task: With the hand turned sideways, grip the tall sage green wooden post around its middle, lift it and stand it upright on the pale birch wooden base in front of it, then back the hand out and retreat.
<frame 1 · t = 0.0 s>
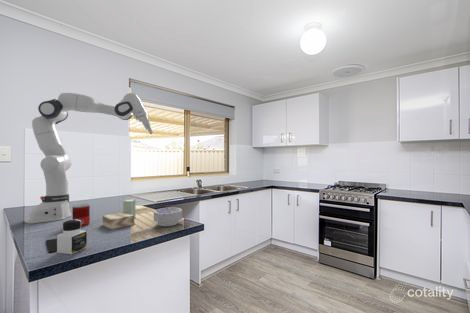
hand: (151, 133, 166), 54 cm above the countertop, tool tilted 30°, fingers open, 8 cm apart
sage green post: (129, 218, 145), on the countertop
paper bowls: (168, 224, 132), on the countertop
wooden base: (118, 224, 131), on the countertop
canned food: (81, 225, 131), on the countertop
cell phone: (60, 245, 102), on the countertop
medicine bottle: (72, 250, 95), on the countertop
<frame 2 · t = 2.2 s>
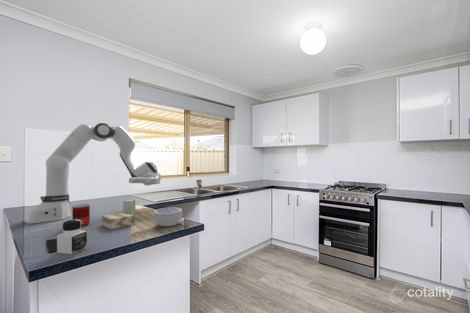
hand: (139, 181, 157), 21 cm above the countertop, tool horizontal, fingers open, 8 cm apart
nothing on the countertop moved.
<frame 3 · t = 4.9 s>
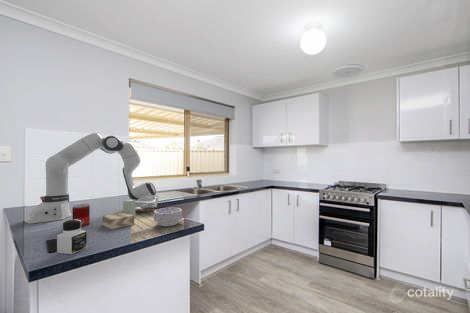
hand: (135, 206, 152), 6 cm above the countertop, tool horizontal, fingers open, 8 cm apart
nothing on the countertop moved.
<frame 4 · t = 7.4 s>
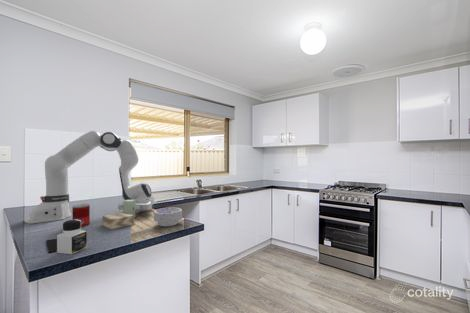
hand: (128, 208, 144), 6 cm above the countertop, tool horizontal, fingers closed on sage green post, 5 cm apart
sage green post: (129, 218, 145), on the countertop, touching gripper
everything else where it was.
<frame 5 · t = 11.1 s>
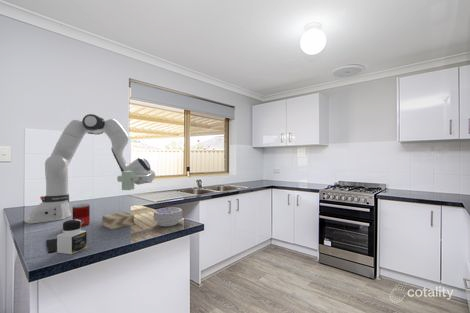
hand: (127, 179, 141), 24 cm above the countertop, tool horizontal, fingers closed on sage green post, 5 cm apart
sage green post: (128, 189, 142), point 18 cm above the countertop, touching gripper
everything else where it was.
when the fingers open (12 cm above the countertop, at t = 15.1 s): sage green post drops 1 cm, resting on wooden base.
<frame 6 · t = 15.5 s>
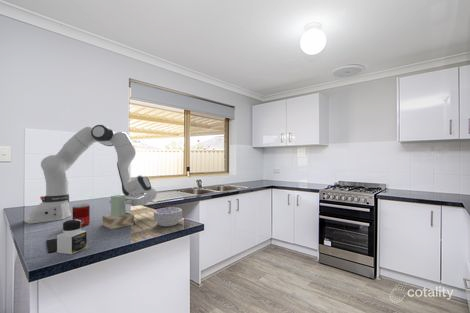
hand: (116, 202, 130), 12 cm above the countertop, tool horizontal, fingers open, 8 cm apart
sage green post: (118, 215, 131), point 5 cm above the countertop, touching wooden base
everything else where it was.
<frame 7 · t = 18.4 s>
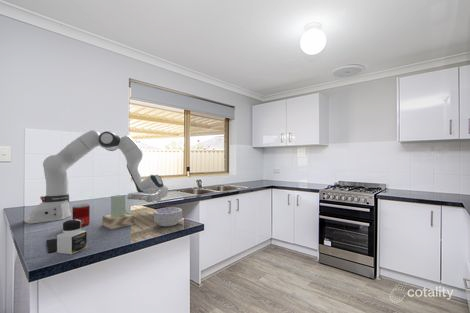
hand: (134, 198, 142), 13 cm above the countertop, tool horizontal, fingers open, 8 cm apart
nothing on the countertop moved.
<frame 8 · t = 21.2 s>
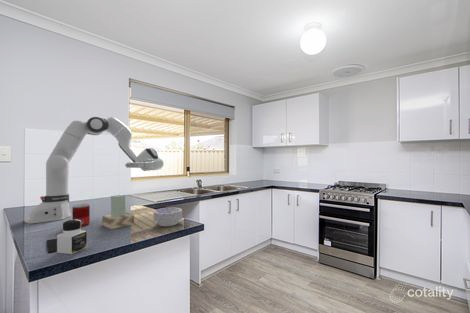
hand: (131, 165, 156), 32 cm above the countertop, tool horizontal, fingers open, 8 cm apart
nothing on the countertop moved.
at the end: sage green post inside the target area on the wooden base (0.1 cm from its centre), point 5.0 cm above the wooden base's base; sage green post tilted 0°; the gripper is holding nothing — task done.
